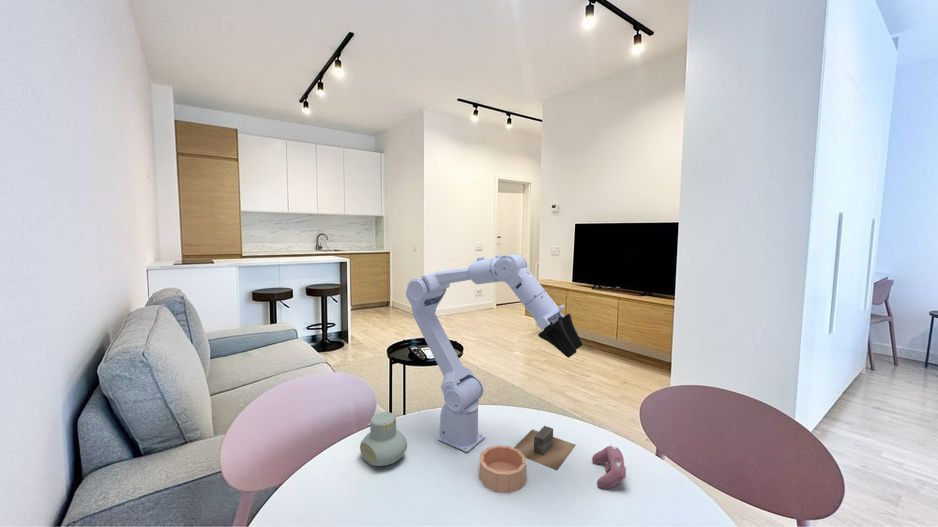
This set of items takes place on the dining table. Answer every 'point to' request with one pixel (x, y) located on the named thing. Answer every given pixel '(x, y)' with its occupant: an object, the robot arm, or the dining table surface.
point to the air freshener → (383, 441)
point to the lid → (545, 448)
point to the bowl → (502, 468)
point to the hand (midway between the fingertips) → (575, 351)
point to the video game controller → (610, 466)
